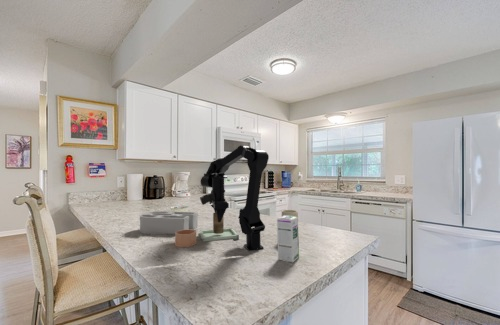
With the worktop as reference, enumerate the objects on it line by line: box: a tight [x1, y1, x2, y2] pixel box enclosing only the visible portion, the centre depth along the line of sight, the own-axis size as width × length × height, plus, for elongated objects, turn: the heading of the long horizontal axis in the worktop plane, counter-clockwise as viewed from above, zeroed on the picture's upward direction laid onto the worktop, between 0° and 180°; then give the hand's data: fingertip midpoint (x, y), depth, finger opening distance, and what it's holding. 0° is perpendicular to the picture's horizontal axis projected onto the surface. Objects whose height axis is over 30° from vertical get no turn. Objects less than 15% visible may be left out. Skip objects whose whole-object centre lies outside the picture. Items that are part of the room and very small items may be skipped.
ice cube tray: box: [139, 210, 199, 235], centre depth 120 cm, size 17×28×9 cm, turn 79°
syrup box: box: [276, 215, 300, 263], centre depth 81 cm, size 6×6×14 cm
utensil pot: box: [174, 229, 197, 248], centre depth 96 cm, size 9×9×6 cm
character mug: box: [281, 209, 299, 218], centre depth 101 cm, size 11×7×13 cm, turn 164°
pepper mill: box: [212, 211, 225, 234], centre depth 107 cm, size 5×5×10 cm
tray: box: [199, 227, 240, 243], centre depth 107 cm, size 14×16×2 cm
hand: (218, 221), depth 107 cm, fingers closed on pepper mill, 5 cm apart
